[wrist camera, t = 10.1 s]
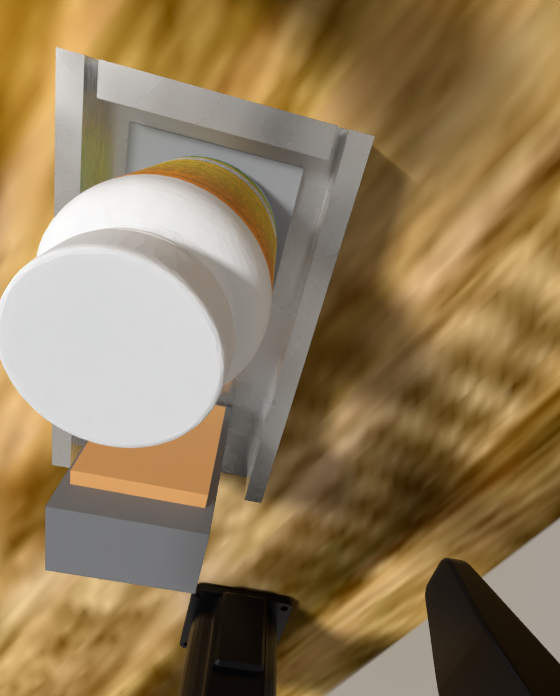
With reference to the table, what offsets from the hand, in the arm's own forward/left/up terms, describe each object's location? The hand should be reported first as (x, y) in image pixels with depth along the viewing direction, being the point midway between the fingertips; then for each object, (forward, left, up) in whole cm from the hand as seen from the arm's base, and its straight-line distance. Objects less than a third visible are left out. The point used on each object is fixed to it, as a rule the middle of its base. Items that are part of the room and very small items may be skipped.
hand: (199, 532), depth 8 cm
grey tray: (-1, +2, -13) cm, 13 cm away
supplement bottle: (+2, +2, -11) cm, 11 cm away
